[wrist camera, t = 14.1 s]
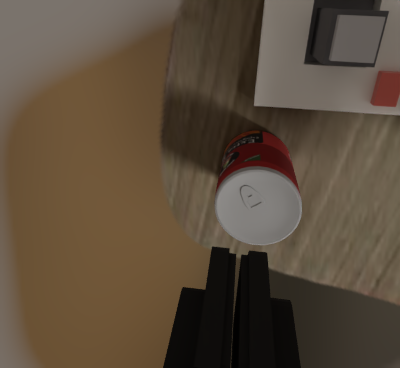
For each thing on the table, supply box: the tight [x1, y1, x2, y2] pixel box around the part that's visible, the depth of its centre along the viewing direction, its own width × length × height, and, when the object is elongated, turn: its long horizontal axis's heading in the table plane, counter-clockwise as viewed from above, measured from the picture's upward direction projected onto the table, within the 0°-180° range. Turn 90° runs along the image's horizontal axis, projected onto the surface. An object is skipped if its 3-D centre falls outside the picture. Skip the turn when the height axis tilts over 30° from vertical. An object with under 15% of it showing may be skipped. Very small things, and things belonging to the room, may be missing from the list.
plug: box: [310, 8, 389, 67], centre depth 29 cm, size 4×4×8 cm
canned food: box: [215, 130, 302, 245], centre depth 35 cm, size 8×8×11 cm
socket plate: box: [254, 0, 400, 115], centre depth 32 cm, size 14×14×3 cm
